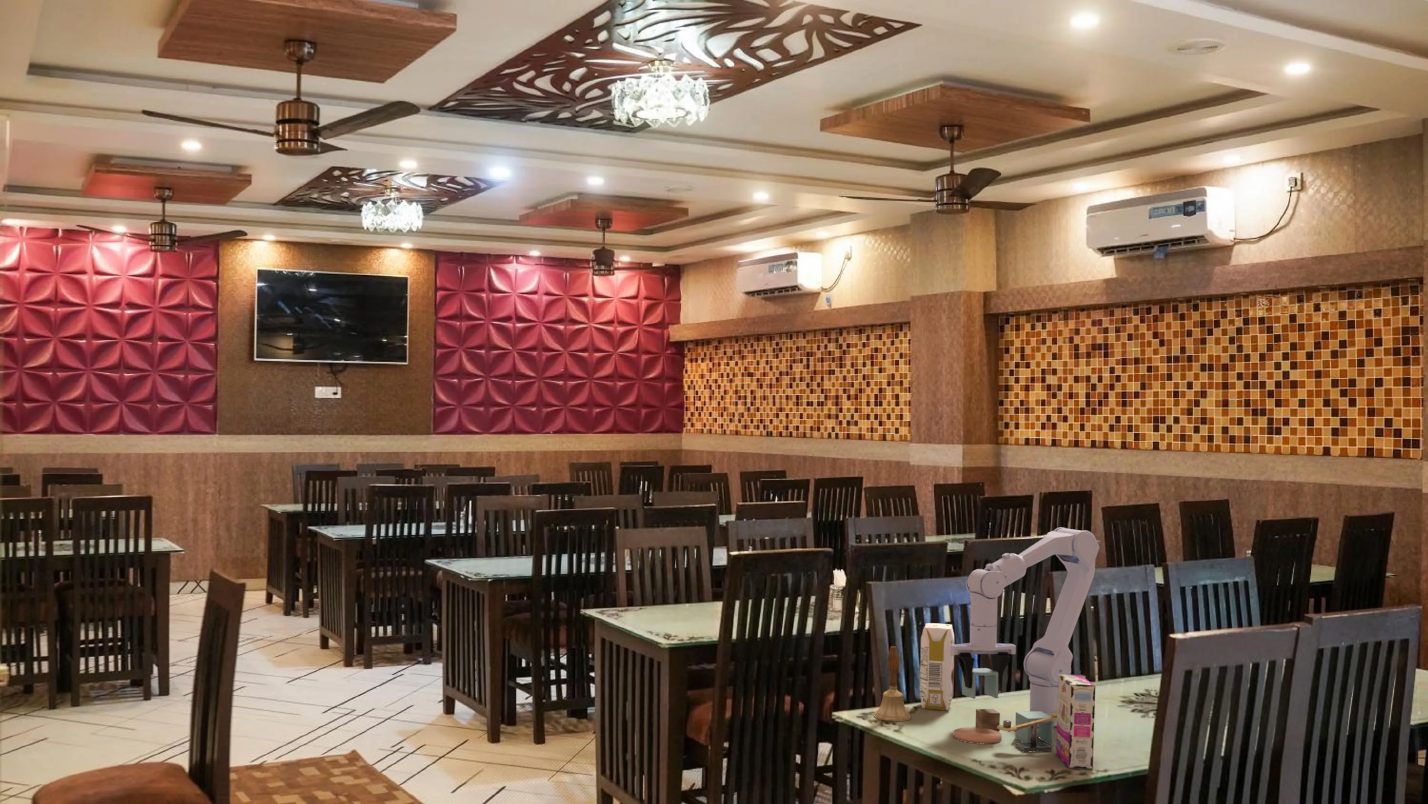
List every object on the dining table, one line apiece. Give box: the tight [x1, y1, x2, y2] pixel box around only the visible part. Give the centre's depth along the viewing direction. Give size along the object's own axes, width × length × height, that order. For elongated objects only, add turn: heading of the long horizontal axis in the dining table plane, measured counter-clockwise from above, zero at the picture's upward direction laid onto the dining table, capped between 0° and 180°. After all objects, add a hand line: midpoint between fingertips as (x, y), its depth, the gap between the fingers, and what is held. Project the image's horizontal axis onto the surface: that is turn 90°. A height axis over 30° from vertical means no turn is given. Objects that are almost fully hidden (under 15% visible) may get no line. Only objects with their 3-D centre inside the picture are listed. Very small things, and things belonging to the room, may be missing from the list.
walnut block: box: [975, 708, 1001, 732], centre depth 275 cm, size 4×4×4 cm
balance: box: [997, 711, 1057, 753], centre depth 258 cm, size 16×4×7 cm, turn 101°
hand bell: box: [873, 645, 912, 722], centre depth 284 cm, size 8×8×16 cm
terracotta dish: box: [953, 726, 1003, 745], centre depth 266 cm, size 10×10×1 cm
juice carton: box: [919, 622, 955, 711], centre depth 295 cm, size 8×9×19 cm
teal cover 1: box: [961, 667, 999, 700], centre depth 276 cm, size 6×6×6 cm
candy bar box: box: [1055, 674, 1097, 770], centre depth 249 cm, size 11×5×16 cm, turn 178°
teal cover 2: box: [1014, 711, 1055, 745], centre depth 265 cm, size 6×6×6 cm
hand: (982, 686), depth 275 cm, fingers closed on teal cover 1, 6 cm apart
